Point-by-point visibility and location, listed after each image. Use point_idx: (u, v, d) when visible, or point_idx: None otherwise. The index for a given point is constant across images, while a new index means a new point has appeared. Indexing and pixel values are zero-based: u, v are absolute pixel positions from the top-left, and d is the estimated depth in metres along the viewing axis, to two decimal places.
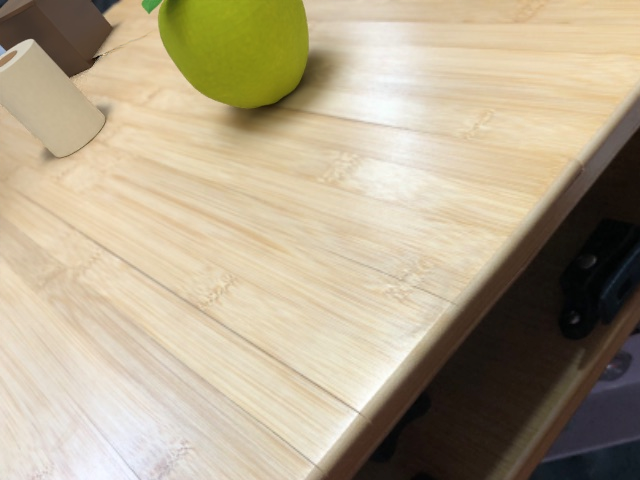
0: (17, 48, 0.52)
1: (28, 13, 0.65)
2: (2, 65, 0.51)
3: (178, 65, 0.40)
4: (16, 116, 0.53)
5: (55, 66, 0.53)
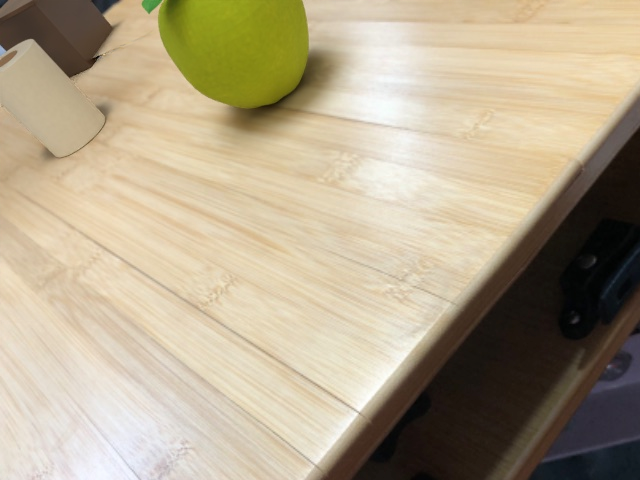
0: (17, 48, 0.52)
1: (28, 13, 0.65)
2: (2, 65, 0.51)
3: (178, 65, 0.40)
4: (16, 116, 0.53)
5: (55, 66, 0.53)
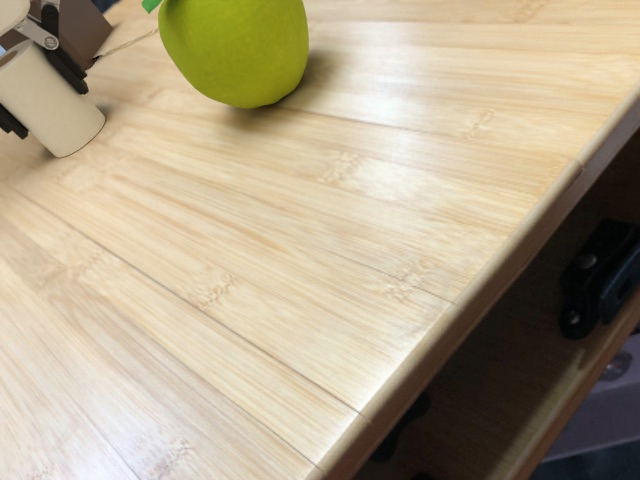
0: (17, 48, 0.52)
1: (28, 13, 0.65)
2: (2, 65, 0.51)
3: (178, 65, 0.40)
4: (16, 116, 0.53)
5: None
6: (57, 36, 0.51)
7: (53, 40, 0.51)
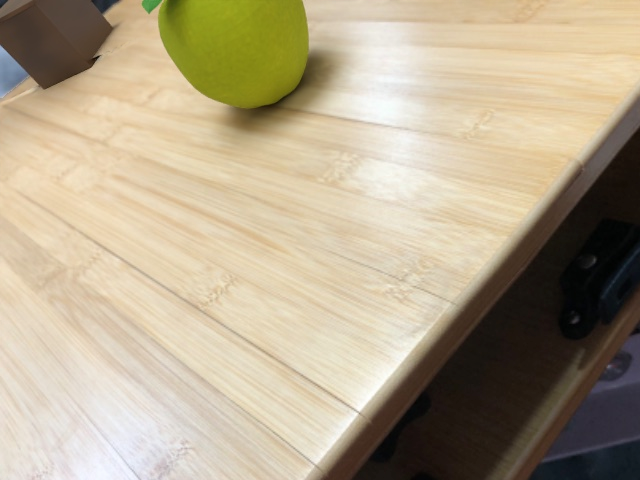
0: None
1: (28, 13, 0.65)
2: None
3: (178, 65, 0.40)
4: None
5: None
6: None
7: None
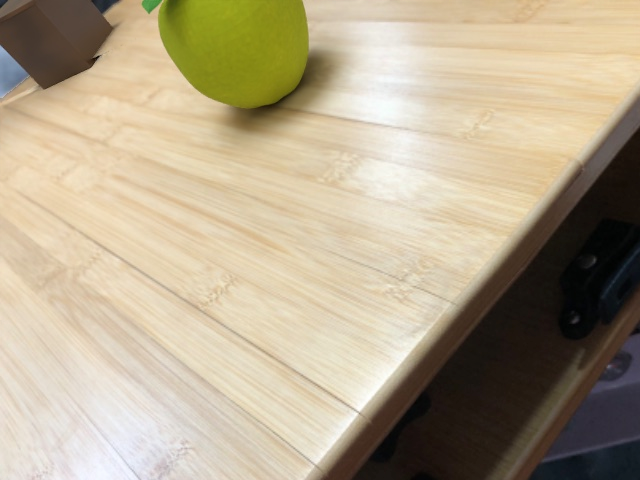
0: None
1: (28, 13, 0.65)
2: None
3: (178, 65, 0.40)
4: None
5: None
6: None
7: None
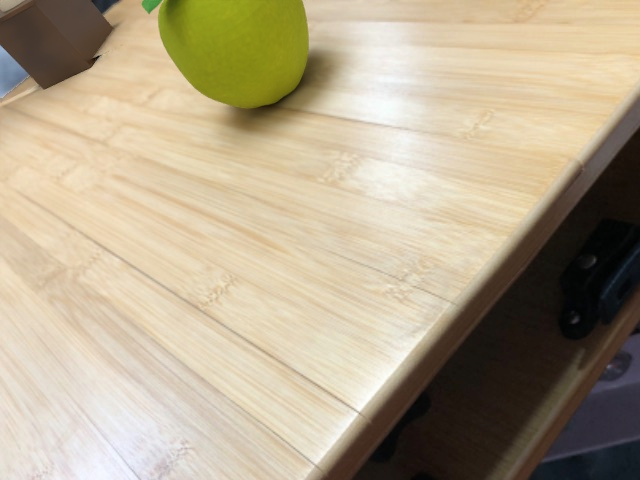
0: None
1: (28, 13, 0.65)
2: None
3: (178, 65, 0.40)
4: None
5: None
6: None
7: None
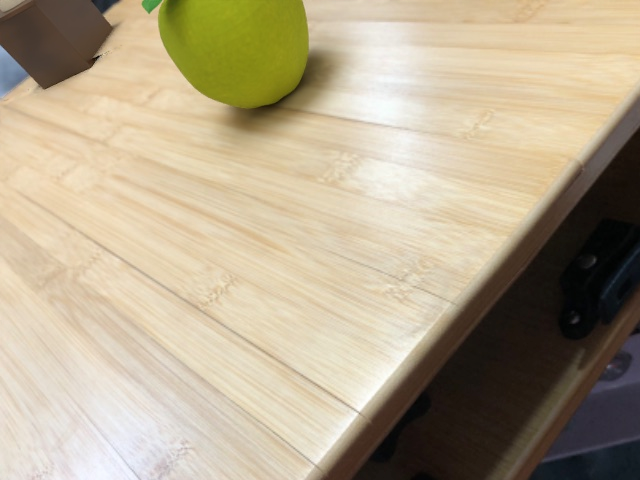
0: None
1: (28, 13, 0.65)
2: None
3: (178, 65, 0.40)
4: None
5: None
6: None
7: None
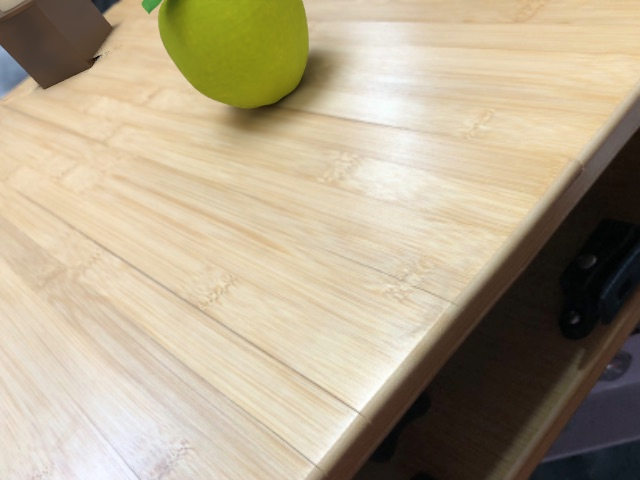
0: None
1: (28, 13, 0.65)
2: None
3: (178, 65, 0.40)
4: None
5: None
6: None
7: None
